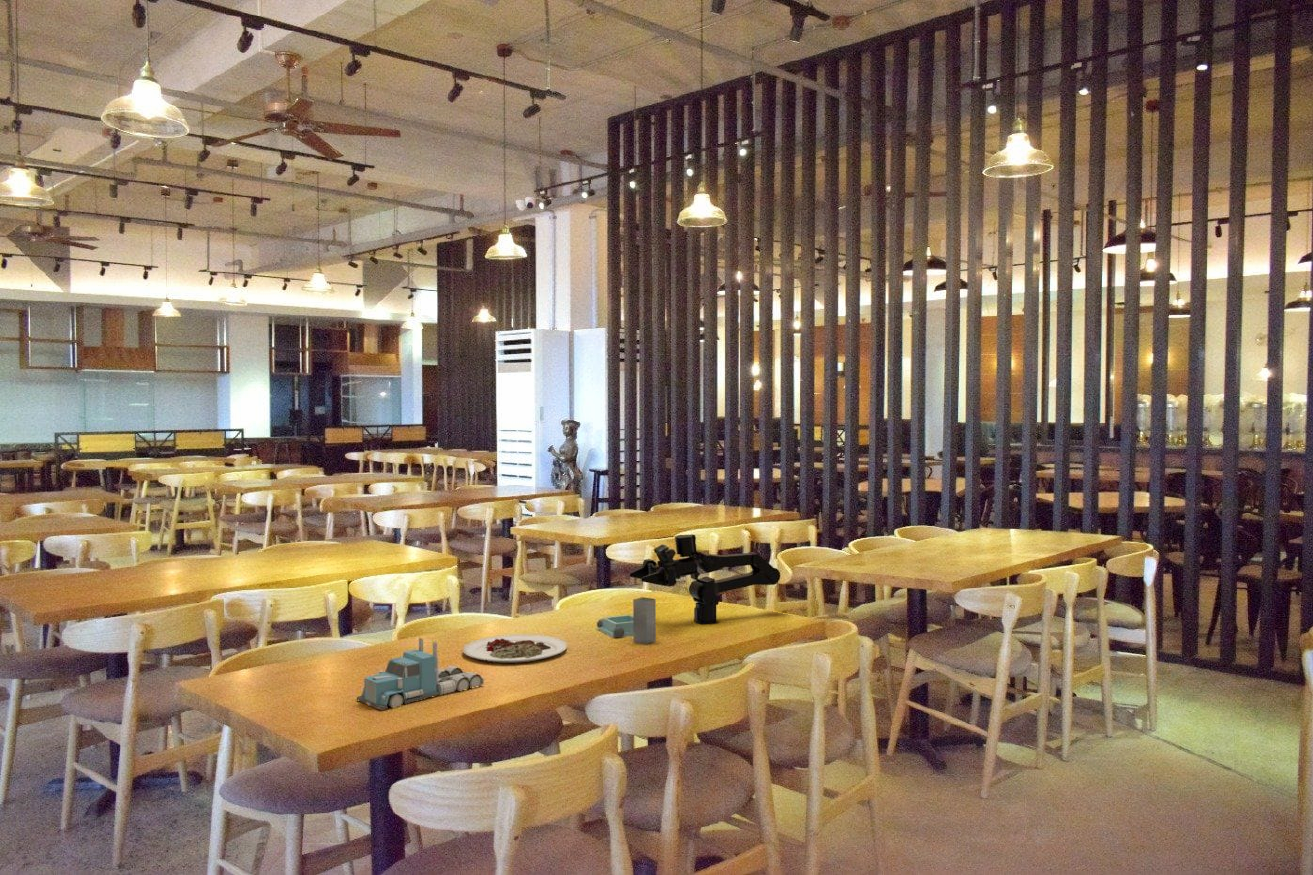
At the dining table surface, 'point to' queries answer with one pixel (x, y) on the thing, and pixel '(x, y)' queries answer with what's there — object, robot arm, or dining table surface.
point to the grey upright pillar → (644, 620)
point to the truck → (414, 680)
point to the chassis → (616, 626)
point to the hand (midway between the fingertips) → (635, 577)
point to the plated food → (515, 648)
